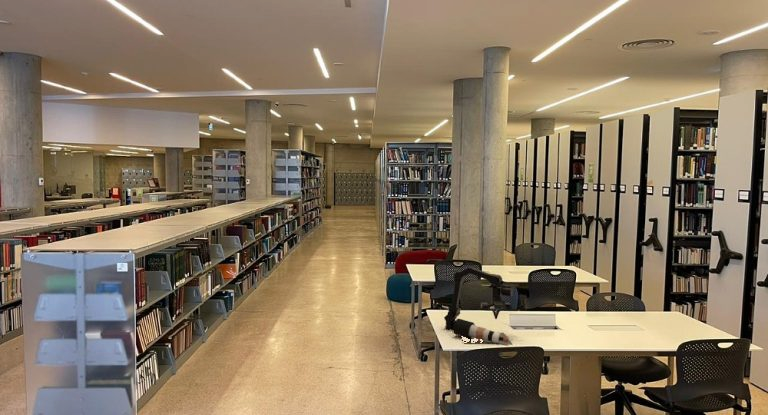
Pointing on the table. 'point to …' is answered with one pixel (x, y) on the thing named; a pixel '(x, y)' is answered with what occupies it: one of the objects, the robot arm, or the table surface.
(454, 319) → the robot arm
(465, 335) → the banded tapered cylinder
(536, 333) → the table surface
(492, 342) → the plate
